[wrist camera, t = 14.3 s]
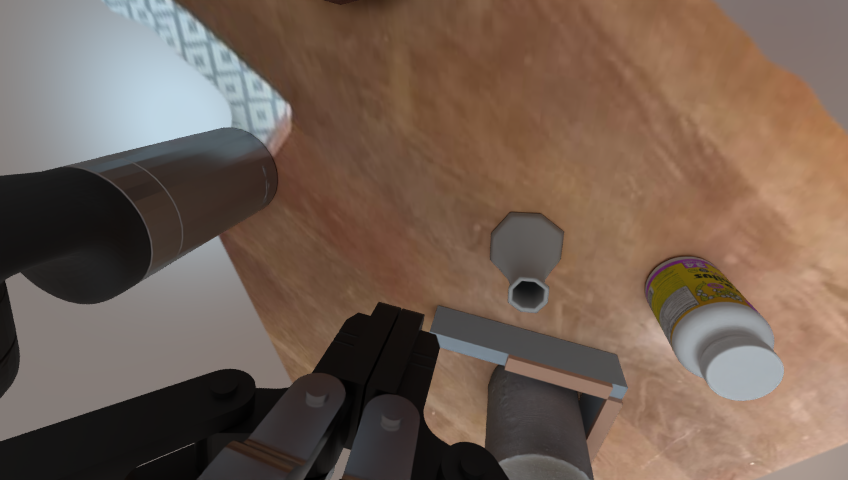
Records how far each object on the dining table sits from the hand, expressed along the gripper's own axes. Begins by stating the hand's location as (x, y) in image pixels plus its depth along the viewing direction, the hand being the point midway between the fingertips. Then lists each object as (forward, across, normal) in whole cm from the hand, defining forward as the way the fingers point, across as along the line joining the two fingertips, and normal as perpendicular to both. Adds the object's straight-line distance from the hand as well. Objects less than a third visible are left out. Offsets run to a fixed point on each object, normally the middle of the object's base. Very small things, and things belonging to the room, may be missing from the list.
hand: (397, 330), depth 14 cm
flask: (+29, -7, +8) cm, 31 cm away
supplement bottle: (+29, -22, +8) cm, 37 cm away
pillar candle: (+29, -13, +25) cm, 40 cm away
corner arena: (+29, -10, +27) cm, 41 cm away
